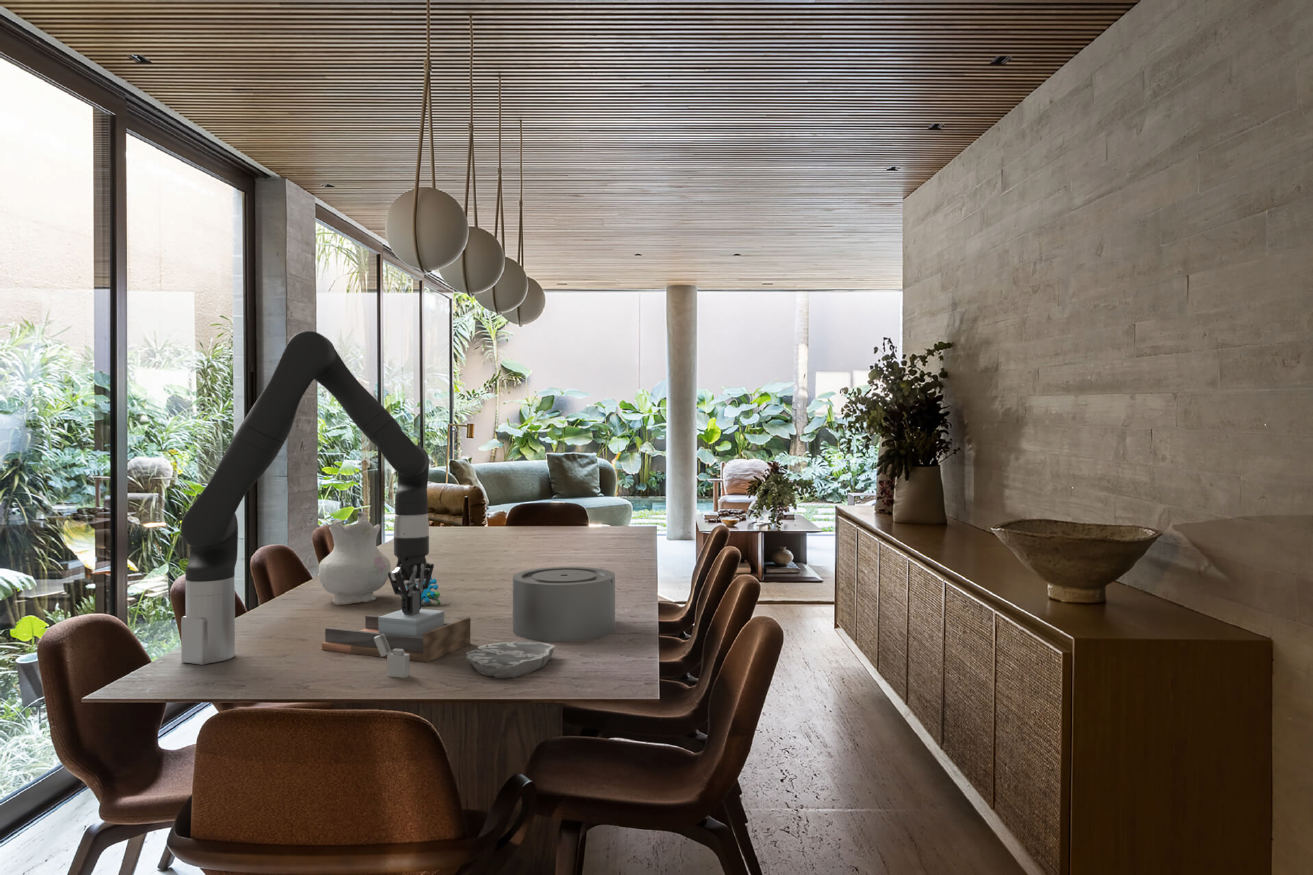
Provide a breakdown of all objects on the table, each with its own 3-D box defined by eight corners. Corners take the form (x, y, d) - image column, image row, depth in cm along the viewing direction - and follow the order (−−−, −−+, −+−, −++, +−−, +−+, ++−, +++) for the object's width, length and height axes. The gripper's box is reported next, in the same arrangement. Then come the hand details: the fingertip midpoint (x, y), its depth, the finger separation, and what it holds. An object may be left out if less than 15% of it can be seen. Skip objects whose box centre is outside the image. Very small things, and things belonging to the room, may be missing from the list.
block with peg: (416, 648, 175) (416, 597, 175) (378, 643, 178) (378, 594, 178) (444, 637, 184) (444, 588, 184) (407, 633, 188) (407, 585, 188)
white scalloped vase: (322, 598, 241) (315, 515, 240) (391, 588, 248) (384, 507, 247) (320, 613, 221) (312, 523, 220) (395, 602, 228) (387, 514, 227)
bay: (427, 662, 170) (427, 633, 170) (322, 649, 180) (321, 622, 180) (470, 643, 185) (470, 617, 185) (371, 632, 195) (371, 607, 195)
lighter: (410, 675, 161) (409, 635, 161) (405, 677, 160) (405, 637, 159) (378, 672, 163) (378, 632, 163) (373, 675, 161) (373, 635, 161)
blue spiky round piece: (395, 599, 226) (415, 570, 232) (404, 610, 231) (424, 582, 236) (425, 608, 222) (445, 578, 228) (434, 619, 226) (454, 590, 232)
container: (591, 646, 184) (590, 587, 184) (493, 637, 192) (493, 581, 192) (629, 621, 207) (629, 569, 207) (541, 614, 215) (541, 564, 215)
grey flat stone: (498, 651, 180) (498, 637, 180) (566, 658, 174) (566, 645, 174) (444, 675, 162) (444, 660, 162) (518, 685, 156) (518, 670, 156)
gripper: (405, 538, 173) (405, 619, 173) (444, 531, 186) (444, 606, 186) (376, 537, 176) (377, 616, 176) (417, 529, 189) (417, 604, 189)
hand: (411, 611), depth 181 cm, fingers closed on block with peg, 2 cm apart
